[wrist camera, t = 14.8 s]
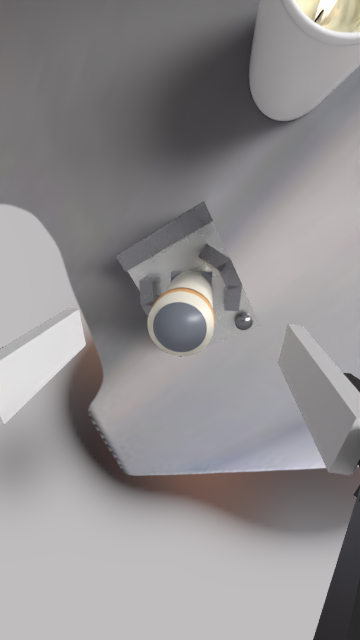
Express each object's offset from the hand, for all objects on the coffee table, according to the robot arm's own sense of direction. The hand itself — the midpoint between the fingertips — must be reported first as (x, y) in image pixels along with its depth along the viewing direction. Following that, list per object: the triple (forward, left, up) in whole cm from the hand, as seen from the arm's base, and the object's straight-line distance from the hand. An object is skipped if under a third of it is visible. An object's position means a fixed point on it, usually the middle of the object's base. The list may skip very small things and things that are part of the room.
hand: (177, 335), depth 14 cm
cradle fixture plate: (0, 0, -17) cm, 17 cm away
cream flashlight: (0, 0, -12) cm, 12 cm away
